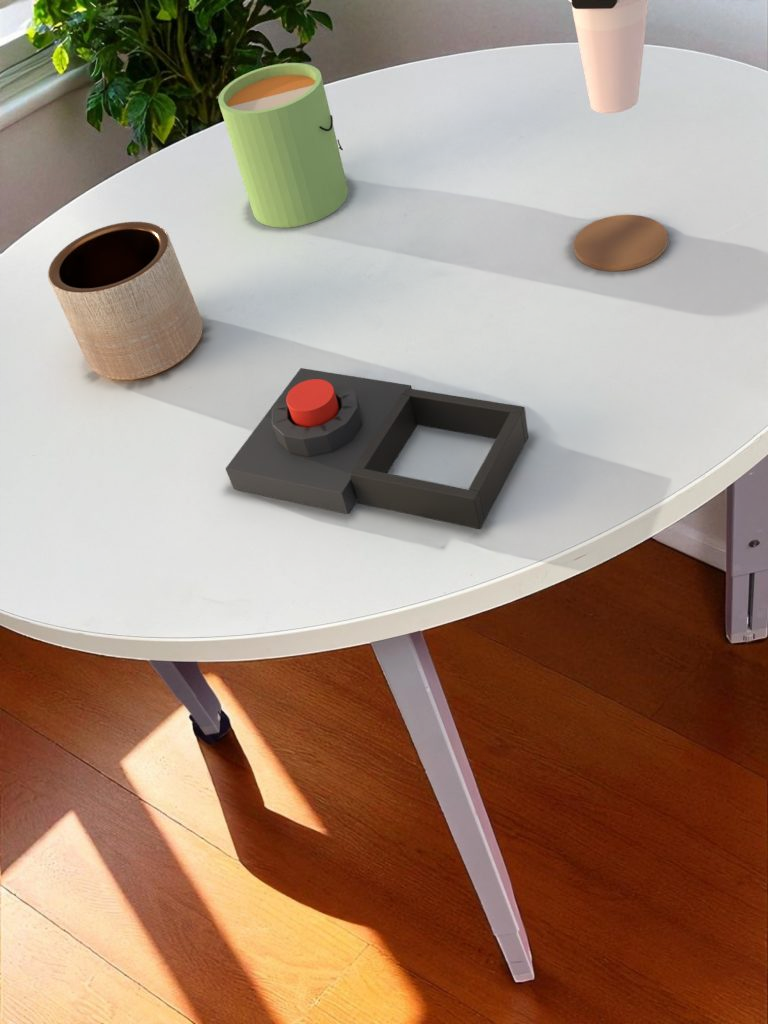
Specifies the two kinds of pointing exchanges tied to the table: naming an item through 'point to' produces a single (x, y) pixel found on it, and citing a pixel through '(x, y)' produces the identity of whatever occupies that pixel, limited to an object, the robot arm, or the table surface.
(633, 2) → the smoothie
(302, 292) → the table surface
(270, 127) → the mug
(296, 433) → the button base
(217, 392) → the table surface
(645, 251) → the coaster
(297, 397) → the stop button
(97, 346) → the planter
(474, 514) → the frame
